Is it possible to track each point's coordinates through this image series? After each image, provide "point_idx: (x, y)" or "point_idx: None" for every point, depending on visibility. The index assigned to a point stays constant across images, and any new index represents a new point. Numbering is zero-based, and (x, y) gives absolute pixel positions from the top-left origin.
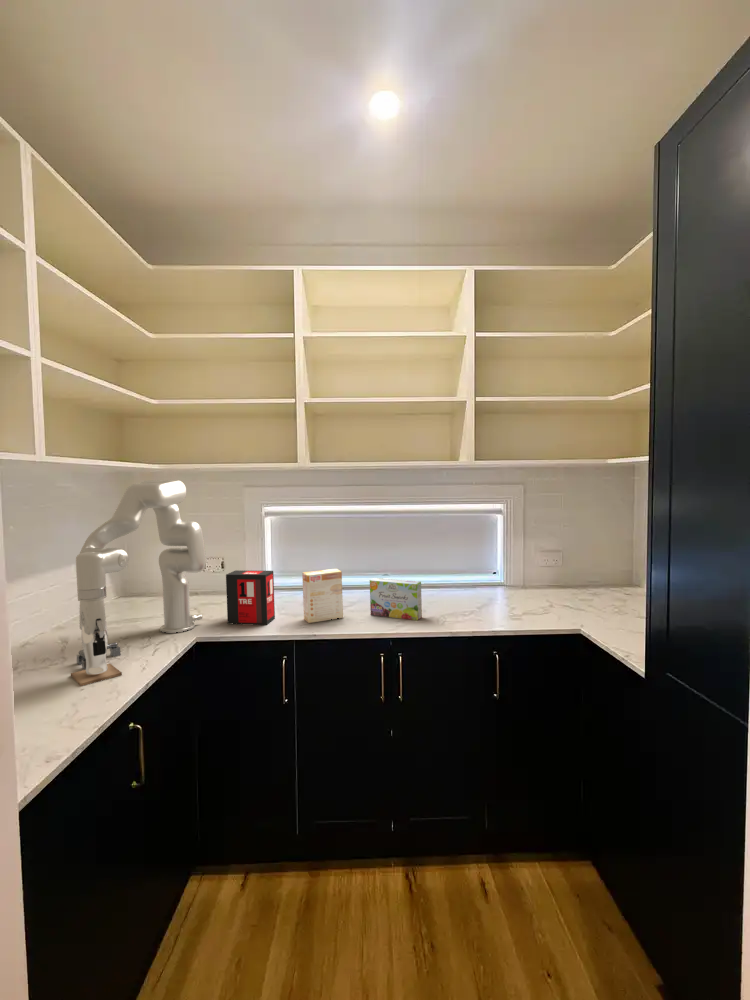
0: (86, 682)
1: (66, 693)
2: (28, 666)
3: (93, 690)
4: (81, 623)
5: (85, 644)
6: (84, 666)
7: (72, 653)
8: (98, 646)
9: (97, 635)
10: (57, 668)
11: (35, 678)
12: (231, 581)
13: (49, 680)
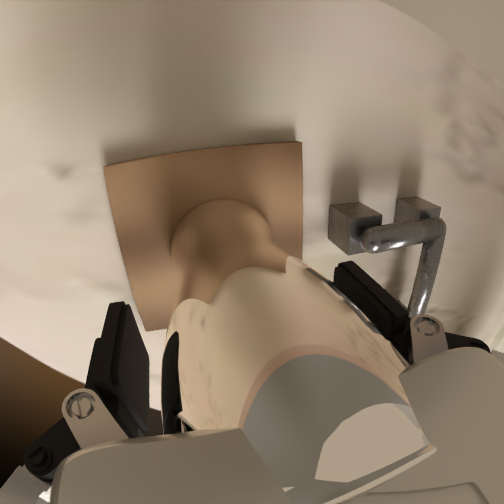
0: (109, 193)
1: (59, 105)
2: (476, 78)
3: (29, 213)
4: (454, 457)
5: (202, 308)
6: (337, 211)
7: (483, 205)
8: (91, 379)
9: (41, 466)
10: (418, 128)
11: (369, 33)
12: None
13: (306, 58)
